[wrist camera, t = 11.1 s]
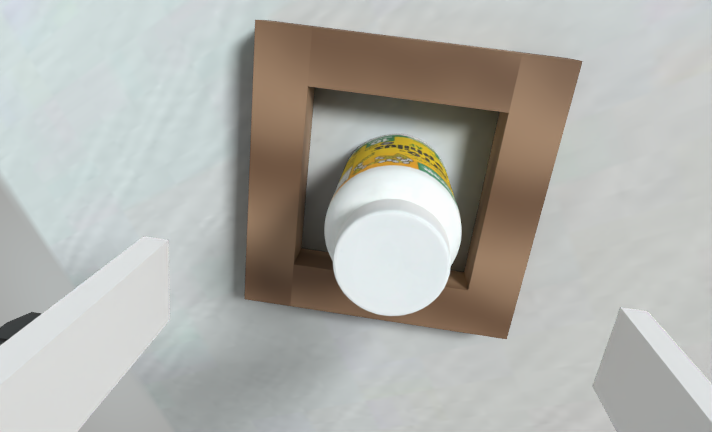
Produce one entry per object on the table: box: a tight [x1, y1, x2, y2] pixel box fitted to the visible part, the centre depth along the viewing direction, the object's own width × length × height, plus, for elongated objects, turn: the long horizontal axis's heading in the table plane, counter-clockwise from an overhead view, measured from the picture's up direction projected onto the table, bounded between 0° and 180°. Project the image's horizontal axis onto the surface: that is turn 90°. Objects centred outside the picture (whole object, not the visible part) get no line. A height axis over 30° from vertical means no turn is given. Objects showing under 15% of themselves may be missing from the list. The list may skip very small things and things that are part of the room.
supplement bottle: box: [324, 134, 462, 316], centre depth 21 cm, size 5×5×10 cm
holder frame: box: [245, 20, 582, 339], centre depth 25 cm, size 14×14×2 cm
